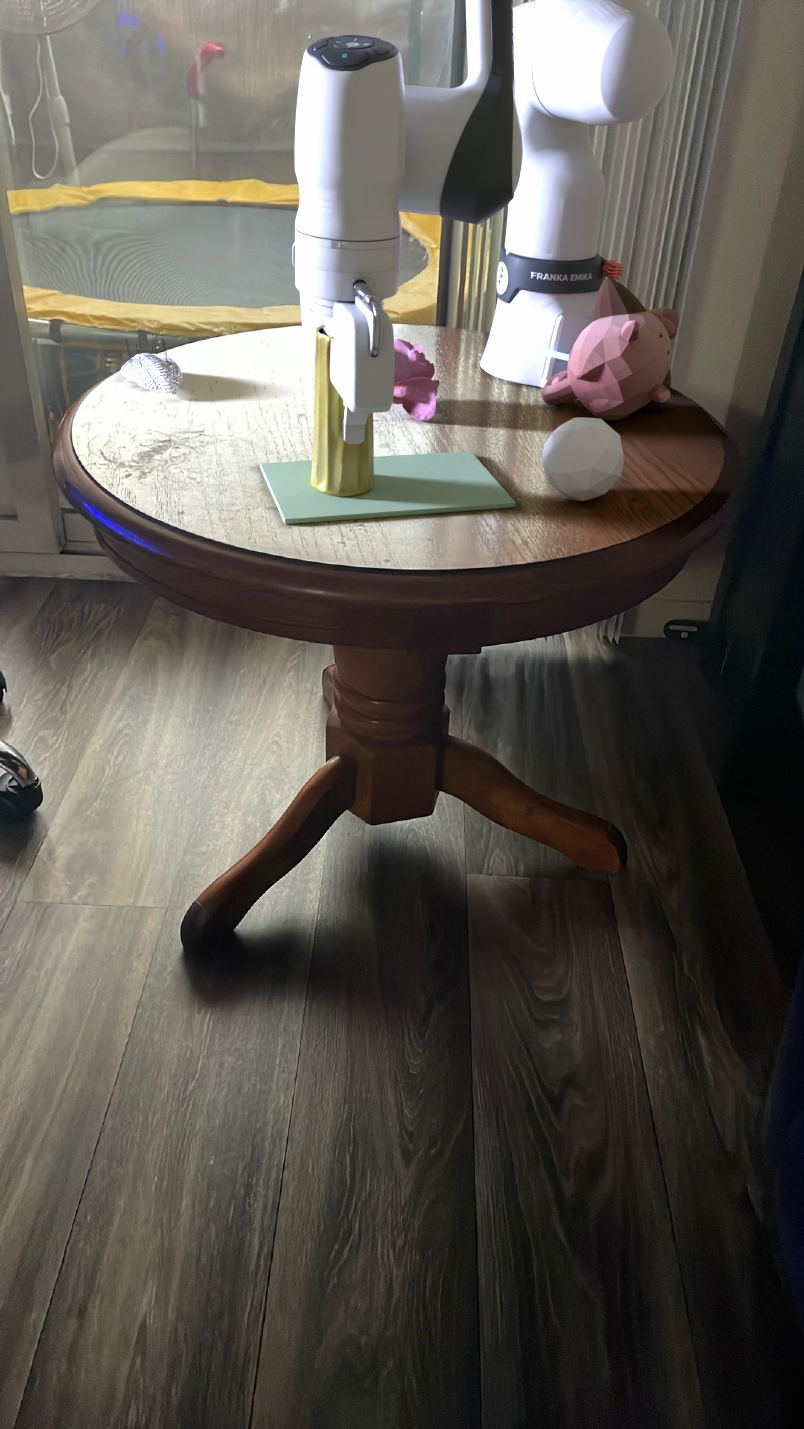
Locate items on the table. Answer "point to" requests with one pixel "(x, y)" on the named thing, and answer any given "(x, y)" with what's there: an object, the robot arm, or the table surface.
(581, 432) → the geometric ball
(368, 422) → the vase
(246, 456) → the table surface
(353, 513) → the mat
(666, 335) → the toy
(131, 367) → the pincushion
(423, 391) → the flower
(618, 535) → the table surface
